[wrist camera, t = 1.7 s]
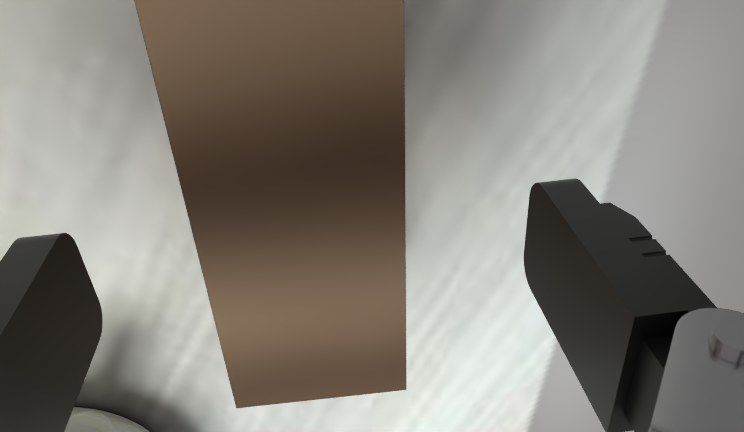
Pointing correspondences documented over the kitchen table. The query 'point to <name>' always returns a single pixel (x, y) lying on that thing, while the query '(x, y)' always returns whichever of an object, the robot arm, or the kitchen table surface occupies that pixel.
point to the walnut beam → (292, 184)
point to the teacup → (100, 422)
